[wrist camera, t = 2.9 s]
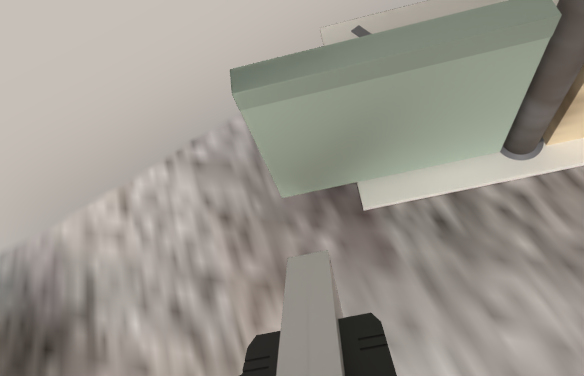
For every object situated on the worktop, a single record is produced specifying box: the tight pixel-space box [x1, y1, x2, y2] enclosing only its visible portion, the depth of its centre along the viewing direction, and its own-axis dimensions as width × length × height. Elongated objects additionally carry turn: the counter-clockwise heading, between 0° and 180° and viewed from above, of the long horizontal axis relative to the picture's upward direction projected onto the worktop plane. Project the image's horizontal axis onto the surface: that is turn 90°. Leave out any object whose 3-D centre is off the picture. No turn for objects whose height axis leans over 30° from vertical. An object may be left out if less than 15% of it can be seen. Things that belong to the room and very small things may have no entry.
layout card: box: [320, 0, 584, 210], centre depth 25 cm, size 22×14×1 cm, turn 99°
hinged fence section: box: [230, 0, 562, 198], centre depth 19 cm, size 12×1×9 cm, turn 99°
